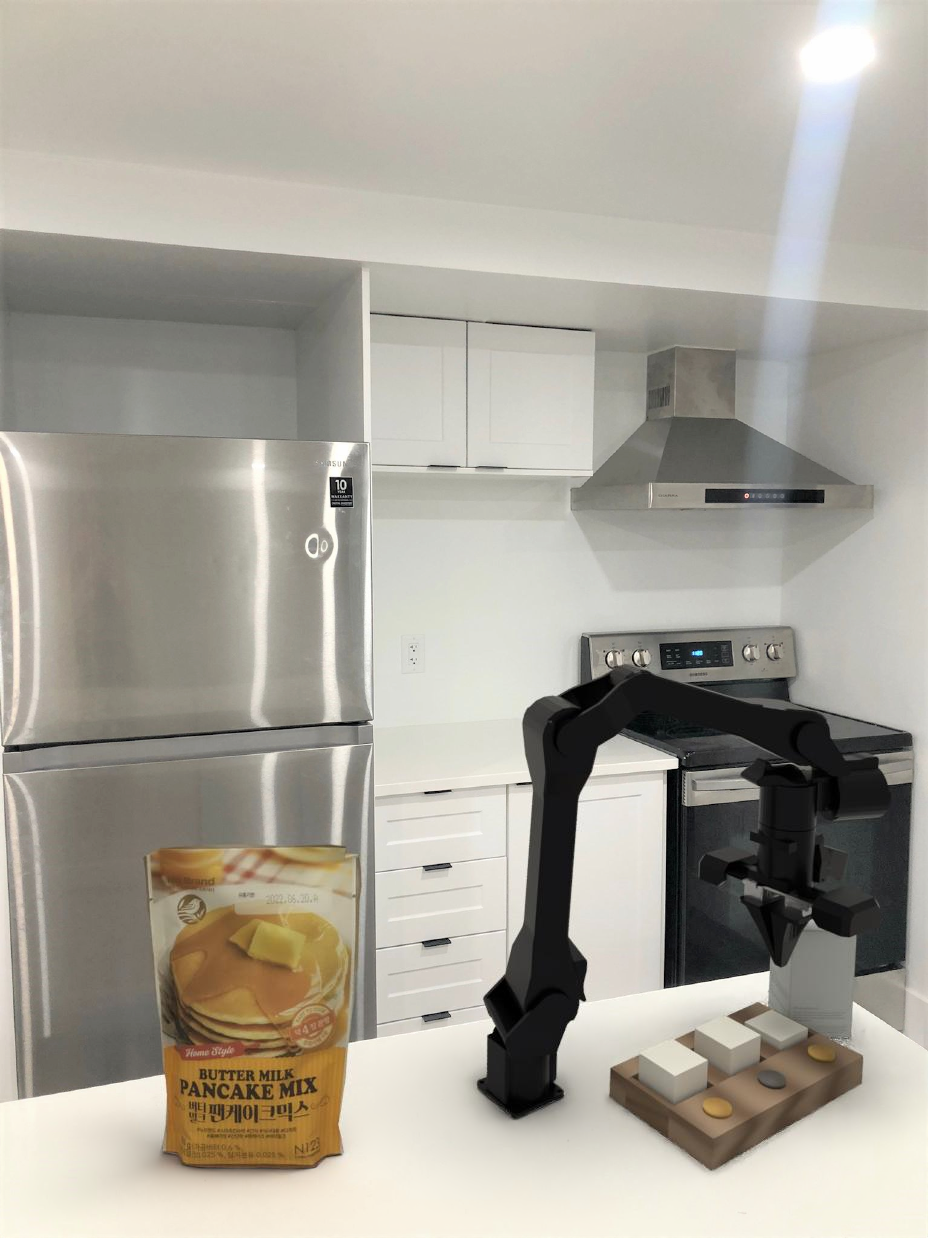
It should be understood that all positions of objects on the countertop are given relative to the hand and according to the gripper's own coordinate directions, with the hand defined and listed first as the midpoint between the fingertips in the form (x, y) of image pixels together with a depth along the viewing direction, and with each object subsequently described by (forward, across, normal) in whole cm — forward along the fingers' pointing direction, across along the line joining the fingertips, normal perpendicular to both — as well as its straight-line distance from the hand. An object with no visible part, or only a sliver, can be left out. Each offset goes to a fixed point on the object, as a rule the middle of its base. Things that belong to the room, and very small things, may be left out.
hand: (780, 965), depth 100 cm
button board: (+10, -1, +8) cm, 13 cm away
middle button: (+8, 0, +8) cm, 11 cm away
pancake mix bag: (+10, +18, +52) cm, 56 cm away
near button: (+8, 0, +16) cm, 18 cm away
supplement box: (+11, +3, -9) cm, 14 cm away
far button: (+10, 0, 0) cm, 10 cm away
